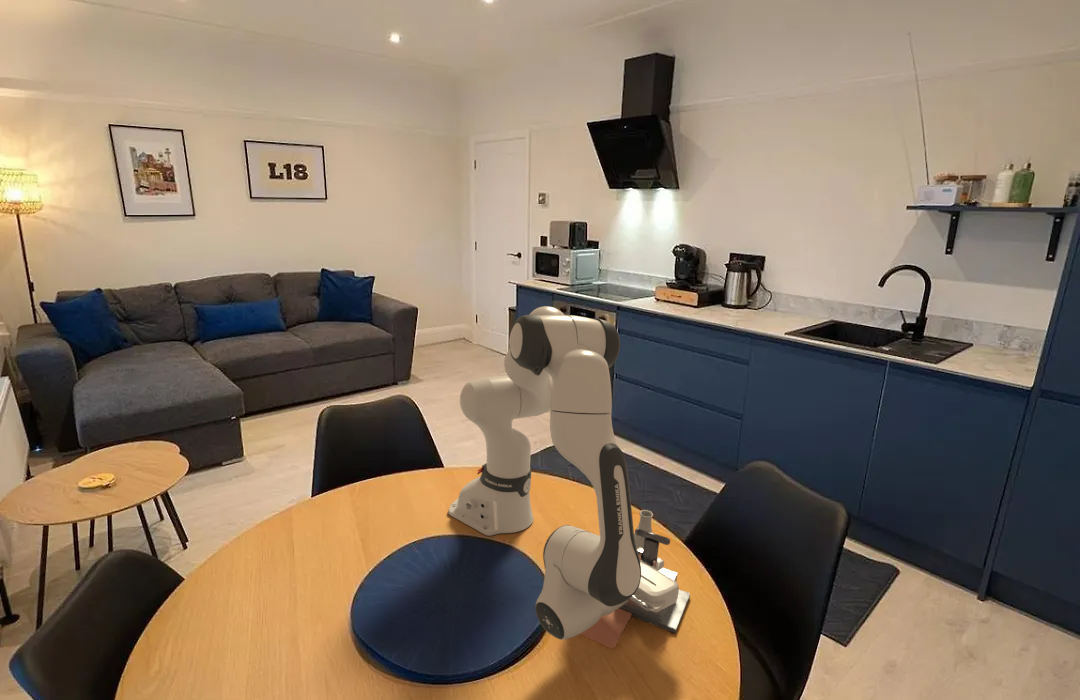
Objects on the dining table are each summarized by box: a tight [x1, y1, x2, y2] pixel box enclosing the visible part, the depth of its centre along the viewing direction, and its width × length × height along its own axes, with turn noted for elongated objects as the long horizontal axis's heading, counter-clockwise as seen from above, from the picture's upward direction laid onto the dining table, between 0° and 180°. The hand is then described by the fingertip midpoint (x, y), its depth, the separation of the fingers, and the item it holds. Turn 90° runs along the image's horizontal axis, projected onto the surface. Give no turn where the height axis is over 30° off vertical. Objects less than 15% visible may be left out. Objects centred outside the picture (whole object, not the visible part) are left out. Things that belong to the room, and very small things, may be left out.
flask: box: [634, 509, 654, 549], centre depth 131 cm, size 7×7×10 cm
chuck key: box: [634, 528, 671, 566], centre depth 113 cm, size 7×3×14 cm, turn 62°
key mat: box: [579, 608, 632, 650], centre depth 109 cm, size 14×10×1 cm
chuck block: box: [619, 567, 691, 634], centre depth 115 cm, size 16×12×6 cm
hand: (652, 556), depth 113 cm, fingers closed on chuck key, 3 cm apart
